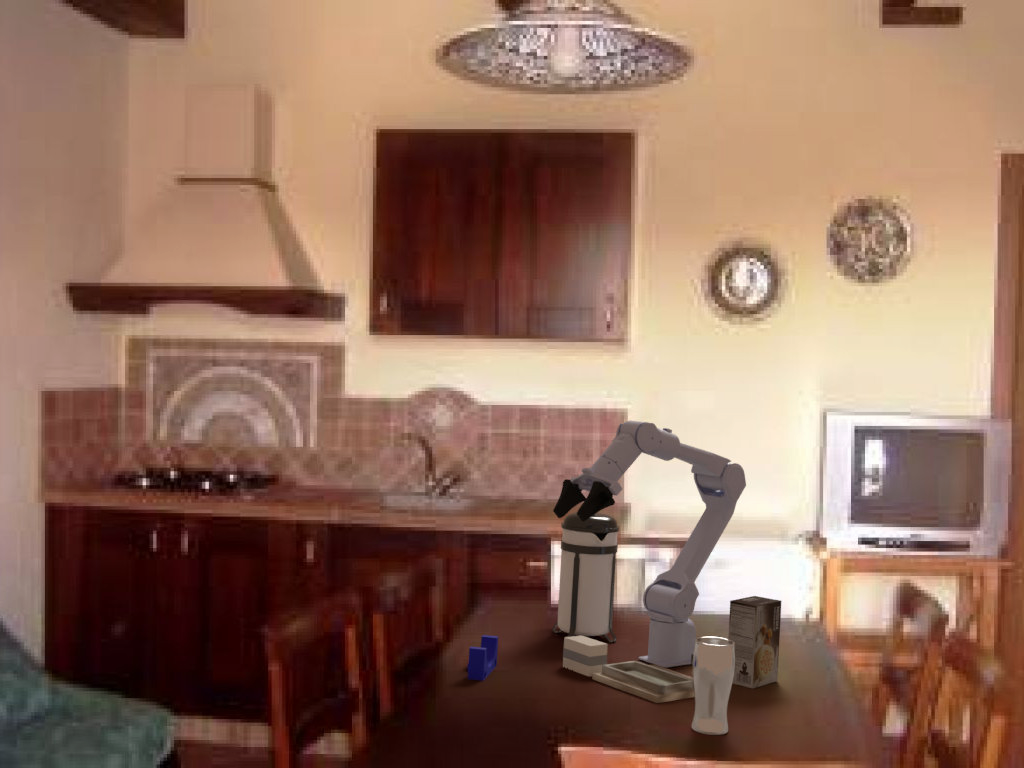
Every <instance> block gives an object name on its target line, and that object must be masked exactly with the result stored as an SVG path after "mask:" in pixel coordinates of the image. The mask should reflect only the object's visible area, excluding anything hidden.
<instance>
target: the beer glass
mask: <svg viewBox="0 0 1024 768" xmlns="http://www.w3.org/2000/svg"><path fill="white" fill-rule="evenodd" d="M734 645H735V643H734V642H733V641H732V640H729V639H728V638H725V637H718V636H700V637H696V639H695V647H694V654H693V664H692V669H691V670H692V673H691V674H692V677H693V685H694V694H695V697H694V703H695V704H694V714H693V717H692V722H691V729H692V730H693V731H694V732H696V733H700V734H702V735H709V736H721V735H725V734H727V733H728V732H729V723H728V705H729V699H730V696H731V691H732V686H733V677H734V668H735V648H734Z"/></svg>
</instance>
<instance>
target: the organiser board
mask: <svg viewBox="0 0 1024 768" xmlns="http://www.w3.org/2000/svg"><path fill="white" fill-rule="evenodd" d="M690 665H693V654H691V664H690ZM591 677H592V678H591V679H592V680H593V681H595V682H599V683H601V684H605V685H607V686H610V687H612V688H615V689H617V690H621V691H623V692H625V693H629V694H632V695H634V696H637V697H640V698H641V699H645V700H648V701H650V702H653V703H655V704H660V703H666V702H667V703H668V702H672V701H677V700H684V699H691V698H695V694H694V685H693V676H689V675H687V674H684V673H681V672H678V671H674V670H672V669H669V668H667V667H666V668H665V667H661V666H658V665H655V664H647V663H644V662H641V661H637V660H631V661H622V662H616V663H607V665H602V672H596V673H593V676H591Z"/></svg>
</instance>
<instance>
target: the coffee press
mask: <svg viewBox="0 0 1024 768" xmlns="http://www.w3.org/2000/svg"><path fill="white" fill-rule="evenodd" d="M563 519H564V520H563V522H561V523H560V524H561V525H560V528H561V529H562V537H561V541H560V549H561V553H560V555H561V556H560V557H561V558H560V572H559V573H560V575H559V588H558V589H559V590H558V605H557V606H558V607H557V609H558V610H557V622H555V625H553V627H552V631H553V633H554V634H558V633H560V632H562V631H563V632H564V633H567V637H572V636H580V635H582V636H585V637H595V636H597V637H598V636H601V637H604V638H605V639H606V641H608V642H609V643H613V642H615V641H617V636H616V634H615V632H614V630H613V616H614V615H613V614H614V613H613V611H614V601H615V600H614V596H615V594H614V593H615V580H616V578H615V577H616V566H617V565H616V563H617V553H618V548H619V547H618V546H619V543H618V533H619V531H620V526H619V525H618V522H617V520H616V518H614V517H613V516H611V515H609V514H607V513H602V512H597V513H596V514H594V515H593V516H591V517H590V518H589V519H587V520H586V521H584V522H583V521H581V519H580V518H579V517H578V515H577V512H572V513H569V514H568V515H567V514H566V515H565V516H564V518H563ZM557 627H558V628H559V629H560V630H557V629H556V628H557ZM609 633H610V635H611V636H612V638H613V640H612V639H611V638H610V636H609V635H608V634H609Z"/></svg>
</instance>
